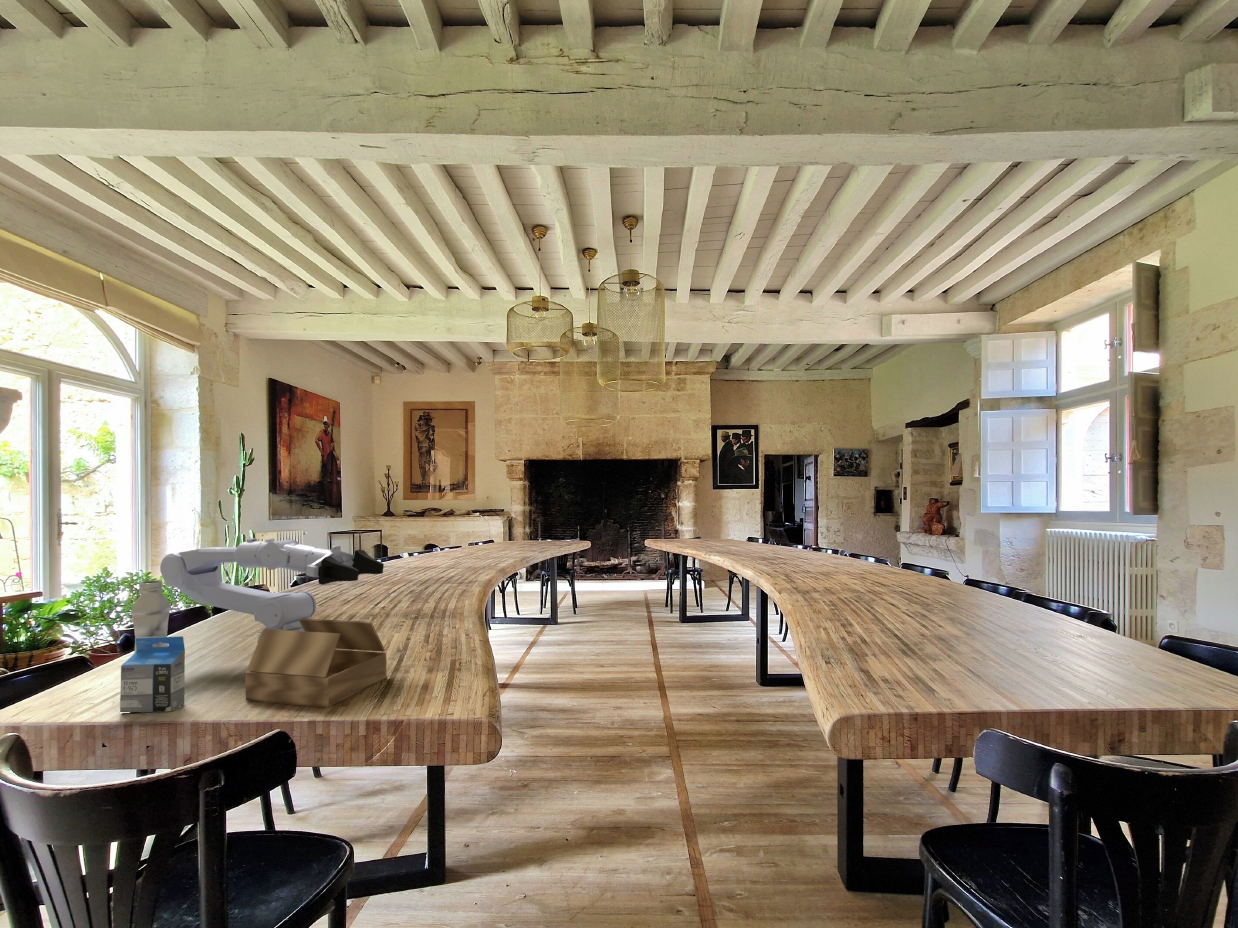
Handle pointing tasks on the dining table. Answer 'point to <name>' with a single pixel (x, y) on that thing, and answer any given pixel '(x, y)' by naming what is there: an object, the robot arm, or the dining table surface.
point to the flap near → (294, 652)
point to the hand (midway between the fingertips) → (370, 571)
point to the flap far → (347, 633)
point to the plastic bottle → (151, 612)
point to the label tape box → (154, 676)
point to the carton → (320, 681)
